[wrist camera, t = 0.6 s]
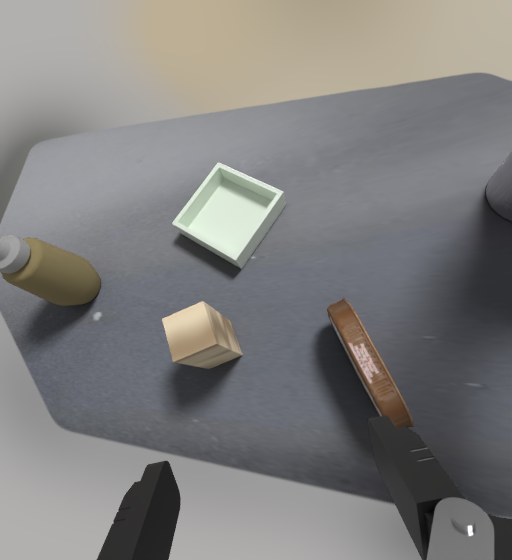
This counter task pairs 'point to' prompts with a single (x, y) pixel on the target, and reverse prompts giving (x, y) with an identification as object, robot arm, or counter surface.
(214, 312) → the beech block
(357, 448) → the counter surface
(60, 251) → the squeeze bottle
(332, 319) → the tin
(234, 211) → the bin
